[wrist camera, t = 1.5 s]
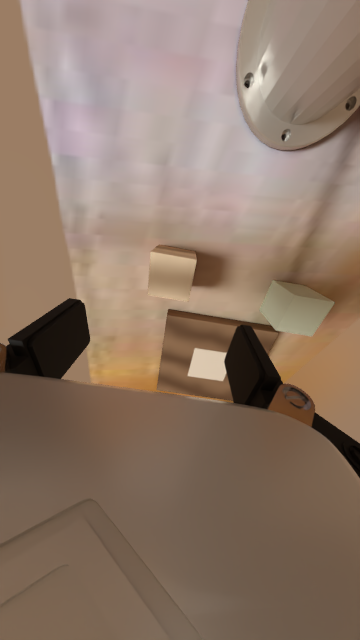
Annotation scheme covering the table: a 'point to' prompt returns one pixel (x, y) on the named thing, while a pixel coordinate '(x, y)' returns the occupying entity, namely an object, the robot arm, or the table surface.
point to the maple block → (171, 272)
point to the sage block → (295, 308)
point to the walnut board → (201, 353)
